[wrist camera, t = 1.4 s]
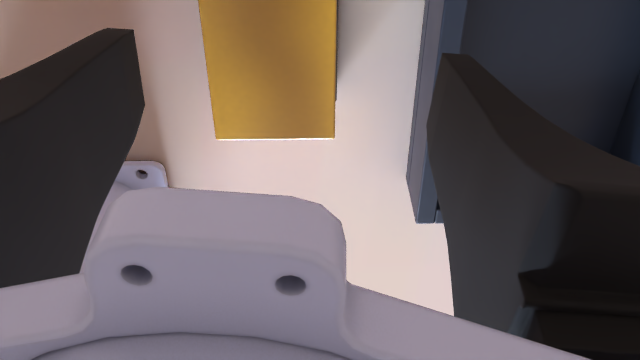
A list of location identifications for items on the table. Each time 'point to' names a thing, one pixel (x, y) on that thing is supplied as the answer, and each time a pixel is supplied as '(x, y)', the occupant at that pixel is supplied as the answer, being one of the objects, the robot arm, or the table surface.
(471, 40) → the case
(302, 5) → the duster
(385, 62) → the table surface
